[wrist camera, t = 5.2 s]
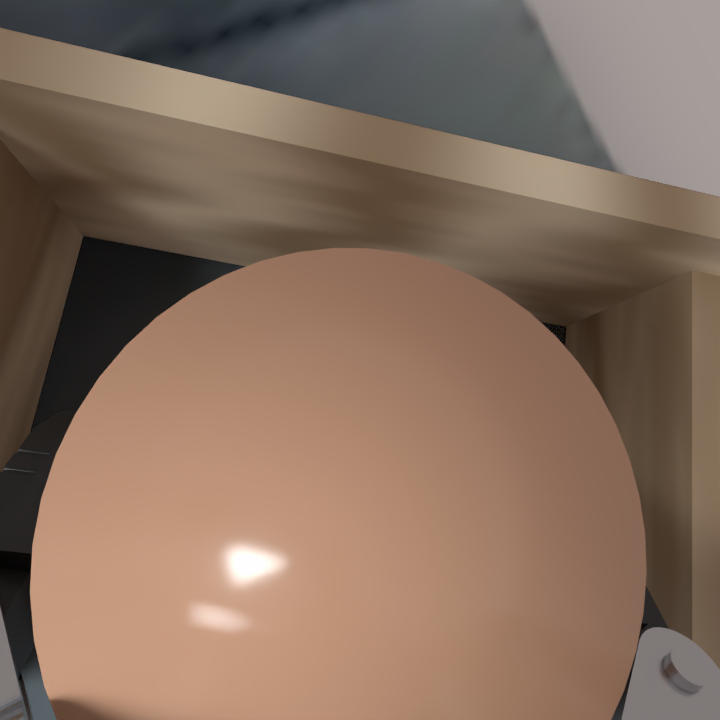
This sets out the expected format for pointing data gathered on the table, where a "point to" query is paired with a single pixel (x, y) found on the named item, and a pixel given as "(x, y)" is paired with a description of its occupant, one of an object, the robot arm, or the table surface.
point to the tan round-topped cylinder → (340, 510)
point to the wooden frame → (382, 232)
